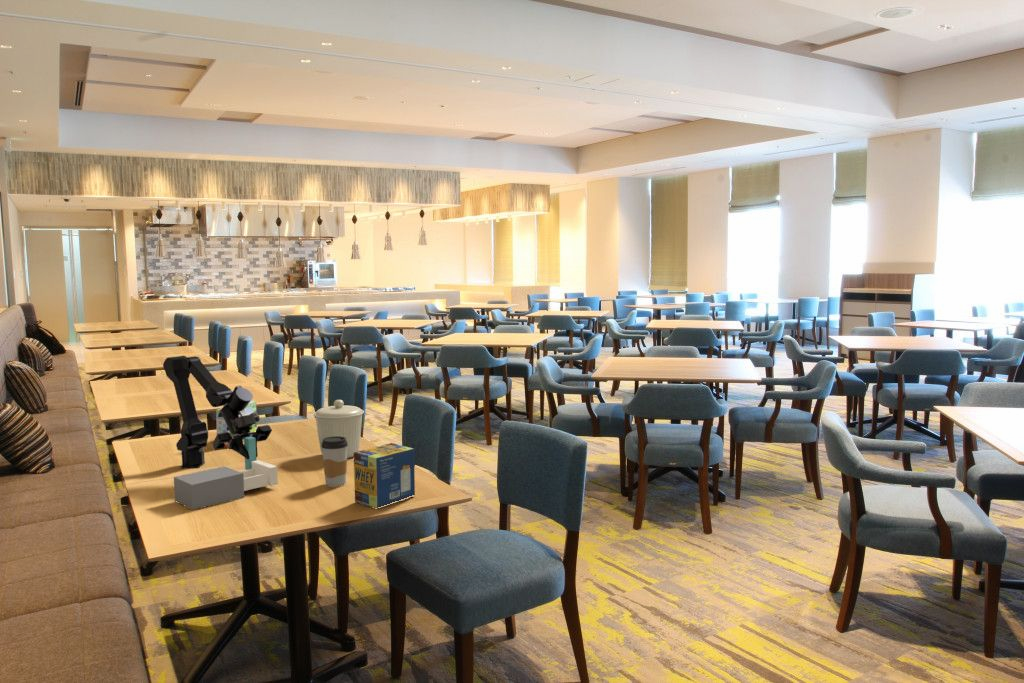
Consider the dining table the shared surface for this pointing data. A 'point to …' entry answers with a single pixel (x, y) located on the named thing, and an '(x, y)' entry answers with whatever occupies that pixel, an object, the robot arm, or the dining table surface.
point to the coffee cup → (335, 460)
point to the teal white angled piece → (257, 469)
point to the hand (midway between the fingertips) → (252, 457)
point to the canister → (340, 424)
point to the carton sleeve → (209, 487)
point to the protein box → (384, 474)
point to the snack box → (247, 411)
